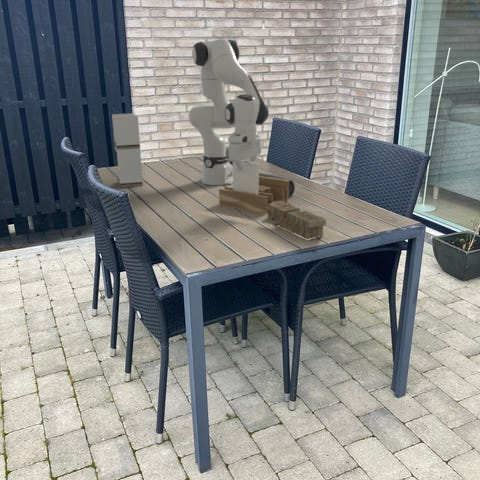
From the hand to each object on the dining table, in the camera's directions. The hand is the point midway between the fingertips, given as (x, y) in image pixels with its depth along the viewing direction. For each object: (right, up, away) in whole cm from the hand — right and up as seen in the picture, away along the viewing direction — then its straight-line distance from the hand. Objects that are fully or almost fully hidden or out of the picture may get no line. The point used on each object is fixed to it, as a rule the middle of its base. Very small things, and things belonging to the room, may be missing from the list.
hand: (245, 168), depth 220 cm
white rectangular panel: (0, -16, +6) cm, 17 cm away
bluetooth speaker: (+12, -9, +29) cm, 33 cm away
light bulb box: (-5, +16, +95) cm, 97 cm away
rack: (+4, -15, +12) cm, 20 cm away
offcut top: (+4, -9, +10) cm, 14 cm away
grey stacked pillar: (-59, -1, +50) cm, 78 cm away
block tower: (+19, -26, -16) cm, 36 cm away
